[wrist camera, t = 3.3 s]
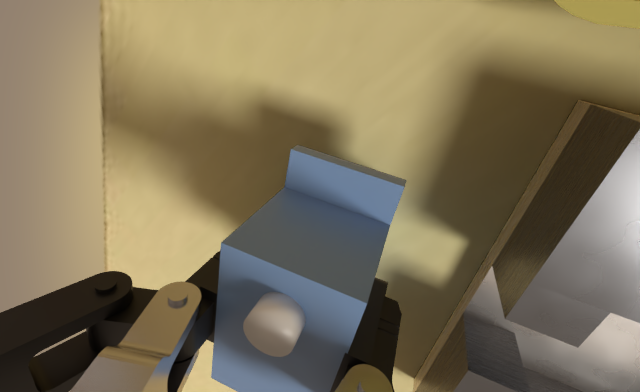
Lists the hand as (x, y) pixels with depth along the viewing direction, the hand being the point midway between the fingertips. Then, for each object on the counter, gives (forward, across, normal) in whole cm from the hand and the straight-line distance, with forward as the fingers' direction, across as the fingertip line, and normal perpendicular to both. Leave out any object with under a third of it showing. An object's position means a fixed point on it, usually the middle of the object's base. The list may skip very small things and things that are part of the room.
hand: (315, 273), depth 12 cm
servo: (+4, 0, 0) cm, 4 cm away
